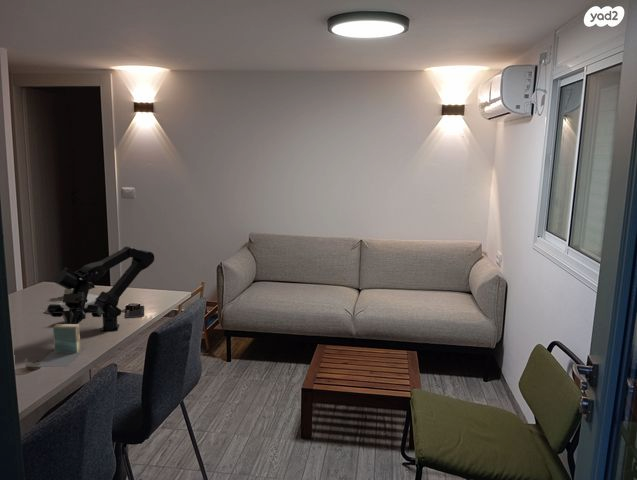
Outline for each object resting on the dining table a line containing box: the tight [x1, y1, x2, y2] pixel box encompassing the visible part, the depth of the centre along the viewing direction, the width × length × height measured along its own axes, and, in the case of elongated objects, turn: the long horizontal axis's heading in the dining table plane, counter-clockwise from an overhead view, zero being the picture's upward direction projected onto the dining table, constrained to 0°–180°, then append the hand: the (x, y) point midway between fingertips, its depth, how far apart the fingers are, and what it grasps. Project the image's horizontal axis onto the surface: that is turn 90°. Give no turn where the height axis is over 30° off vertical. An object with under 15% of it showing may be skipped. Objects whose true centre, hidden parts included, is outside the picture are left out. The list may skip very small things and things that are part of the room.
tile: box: [52, 323, 82, 353], centre depth 183 cm, size 3×8×10 cm, turn 94°
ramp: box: [44, 293, 99, 314], centre depth 233 cm, size 28×16×5 cm, turn 120°
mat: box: [35, 347, 87, 368], centre depth 180 cm, size 16×11×1 cm
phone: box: [125, 305, 145, 319], centre depth 230 cm, size 8×1×15 cm
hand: (69, 331), depth 186 cm, fingers closed
